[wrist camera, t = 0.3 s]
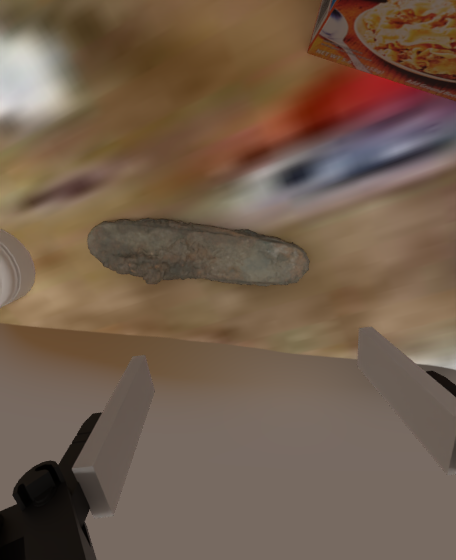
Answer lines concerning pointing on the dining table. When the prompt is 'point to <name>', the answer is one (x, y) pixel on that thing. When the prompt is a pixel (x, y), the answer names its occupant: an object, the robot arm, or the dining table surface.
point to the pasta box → (392, 40)
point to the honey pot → (14, 269)
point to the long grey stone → (195, 253)
